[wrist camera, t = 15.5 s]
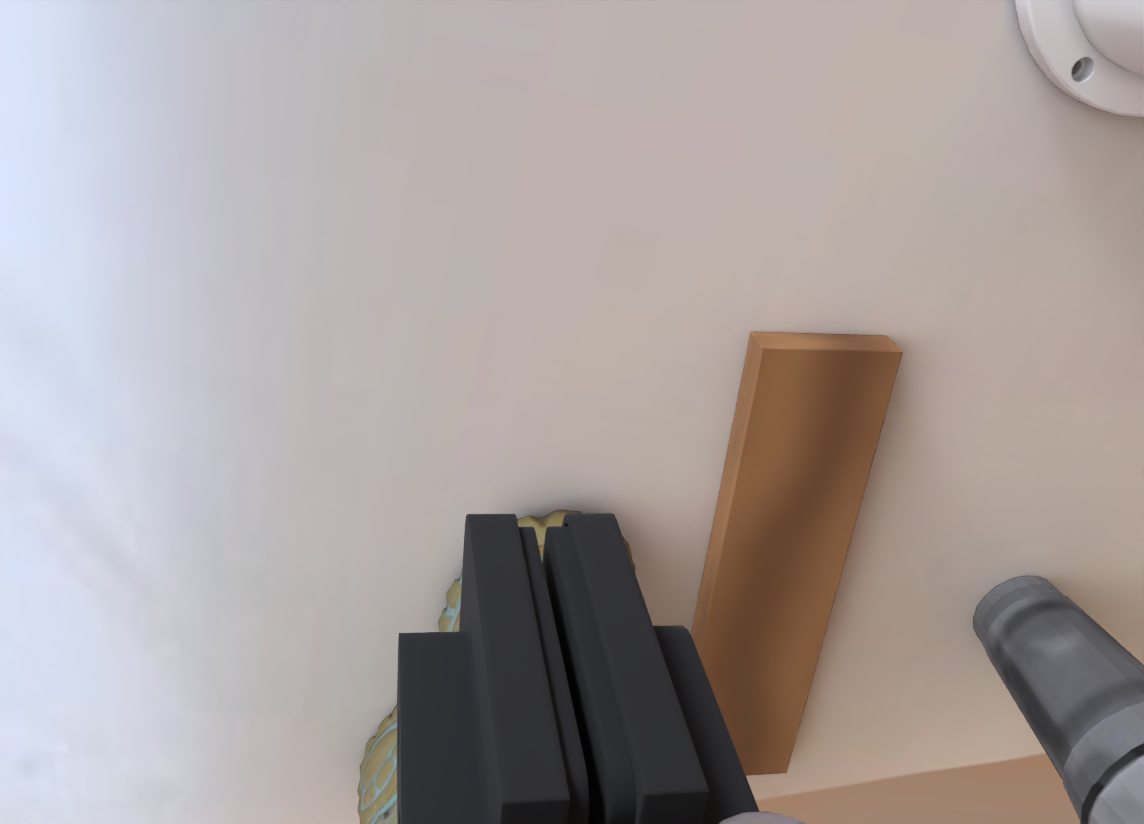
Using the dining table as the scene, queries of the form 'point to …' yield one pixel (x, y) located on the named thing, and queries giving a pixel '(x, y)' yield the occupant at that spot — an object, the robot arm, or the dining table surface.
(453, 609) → the sneaker
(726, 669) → the oak board
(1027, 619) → the beverage cup
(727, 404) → the dining table surface
